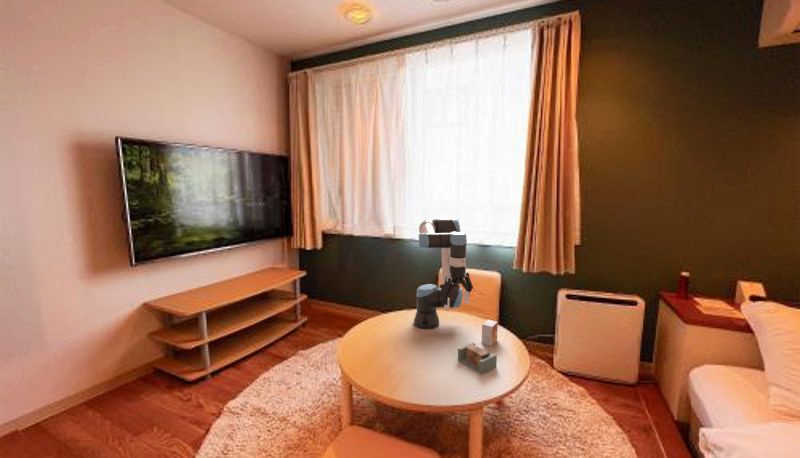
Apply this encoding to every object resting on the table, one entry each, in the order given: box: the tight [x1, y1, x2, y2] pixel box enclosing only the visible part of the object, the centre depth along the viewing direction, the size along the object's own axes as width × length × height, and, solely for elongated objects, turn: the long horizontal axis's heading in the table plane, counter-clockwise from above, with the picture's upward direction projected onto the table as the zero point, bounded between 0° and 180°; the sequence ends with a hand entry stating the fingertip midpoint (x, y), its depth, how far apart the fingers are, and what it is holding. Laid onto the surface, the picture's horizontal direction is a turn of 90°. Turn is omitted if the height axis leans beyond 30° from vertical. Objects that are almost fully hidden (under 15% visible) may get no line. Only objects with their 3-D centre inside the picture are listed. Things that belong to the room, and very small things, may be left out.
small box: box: [481, 319, 499, 347], centre depth 173 cm, size 8×6×10 cm
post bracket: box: [457, 342, 498, 375], centre depth 153 cm, size 14×10×6 cm
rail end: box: [466, 344, 491, 366], centre depth 152 cm, size 10×5×6 cm, turn 34°
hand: (456, 306), depth 160 cm, fingers open, 13 cm apart
